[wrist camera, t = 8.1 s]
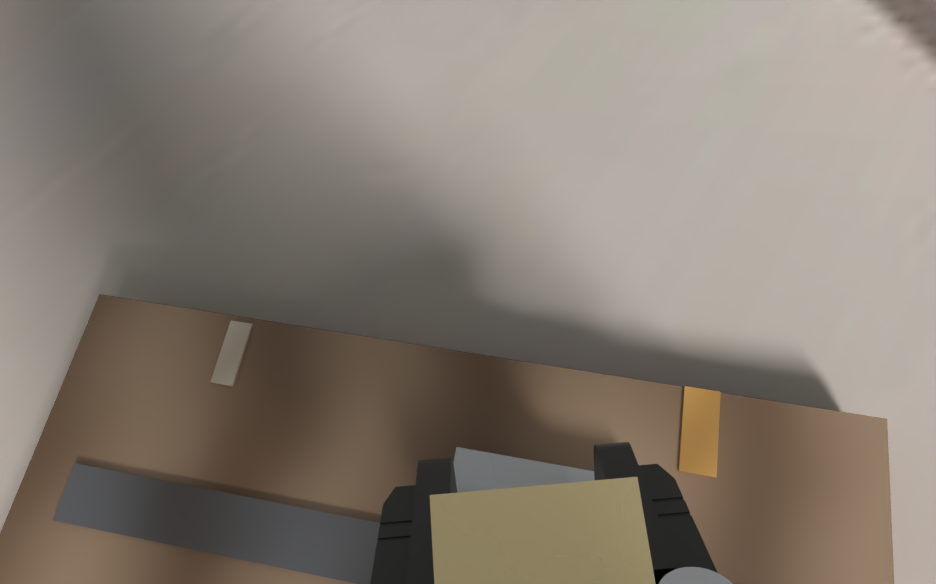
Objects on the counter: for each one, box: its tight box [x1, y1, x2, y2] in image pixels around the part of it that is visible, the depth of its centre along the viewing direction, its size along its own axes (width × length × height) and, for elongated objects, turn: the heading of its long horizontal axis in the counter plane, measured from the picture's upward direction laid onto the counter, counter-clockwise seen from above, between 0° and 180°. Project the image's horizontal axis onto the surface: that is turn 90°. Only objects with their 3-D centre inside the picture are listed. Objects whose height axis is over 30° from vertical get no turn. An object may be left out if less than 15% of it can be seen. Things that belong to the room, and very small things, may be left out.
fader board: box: [0, 294, 894, 584], centre depth 19 cm, size 24×12×2 cm, turn 80°
